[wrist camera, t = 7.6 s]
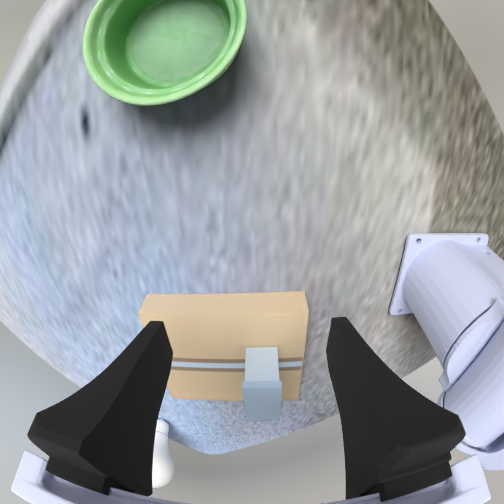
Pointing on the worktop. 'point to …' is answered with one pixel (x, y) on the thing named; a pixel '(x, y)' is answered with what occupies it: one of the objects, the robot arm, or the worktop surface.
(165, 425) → the lightbulb
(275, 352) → the tab
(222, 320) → the carton
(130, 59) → the ramekin
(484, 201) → the worktop surface
